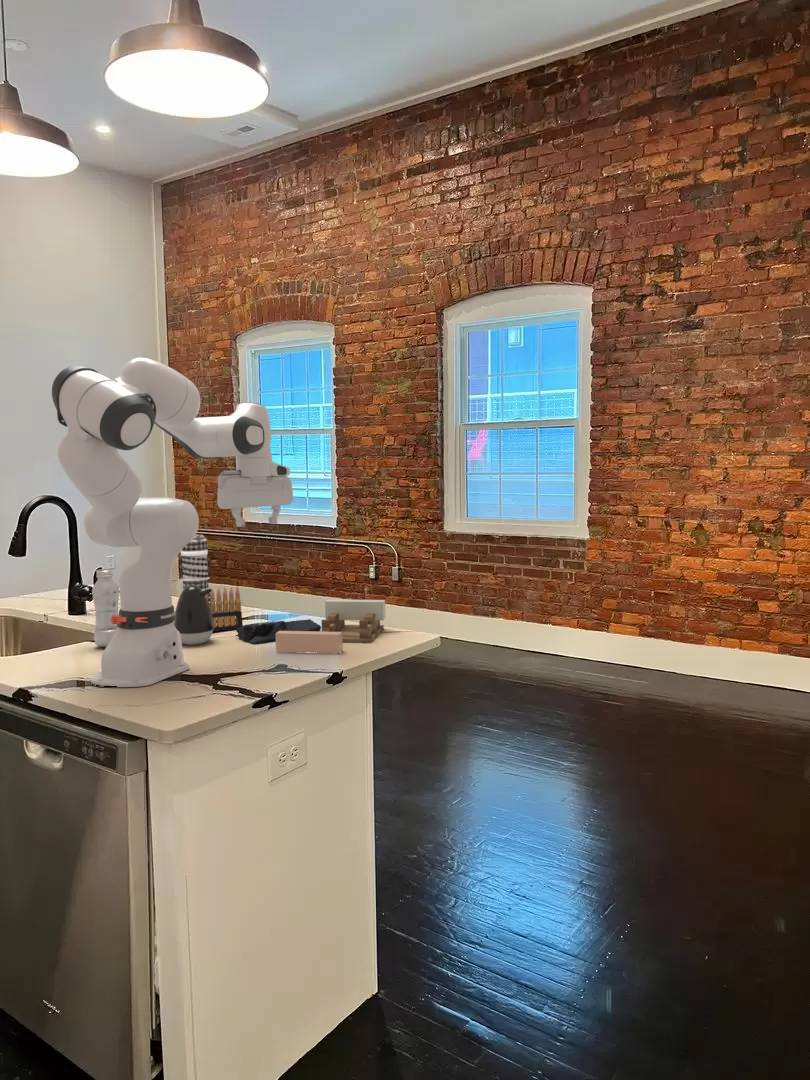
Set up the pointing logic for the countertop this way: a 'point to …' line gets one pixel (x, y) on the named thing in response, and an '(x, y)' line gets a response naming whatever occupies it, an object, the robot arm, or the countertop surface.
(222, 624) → the ammunition clip
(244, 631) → the dark slate chunk
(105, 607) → the plastic bottle
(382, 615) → the cream rectangular bar
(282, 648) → the clay strip
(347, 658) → the countertop surface
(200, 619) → the pump dispenser
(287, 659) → the countertop surface
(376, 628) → the walnut drying rack
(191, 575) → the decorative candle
